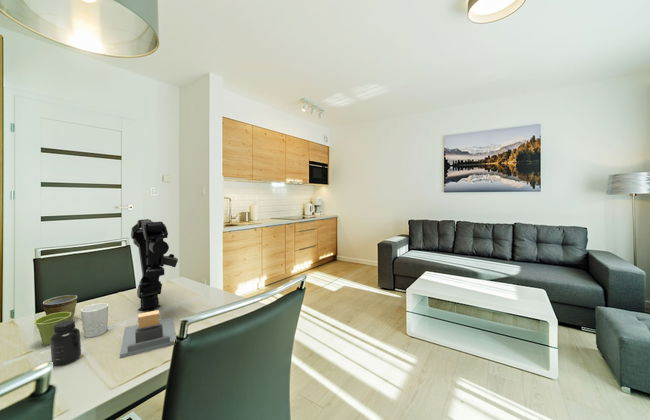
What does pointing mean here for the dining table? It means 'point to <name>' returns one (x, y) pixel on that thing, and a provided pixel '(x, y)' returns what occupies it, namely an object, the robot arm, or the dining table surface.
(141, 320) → the lever
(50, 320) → the plant pot
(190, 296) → the dining table surface
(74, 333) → the supplement bottle
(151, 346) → the switch board
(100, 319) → the white cup
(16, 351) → the dining table surface
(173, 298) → the dining table surface
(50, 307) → the ceramic cup
